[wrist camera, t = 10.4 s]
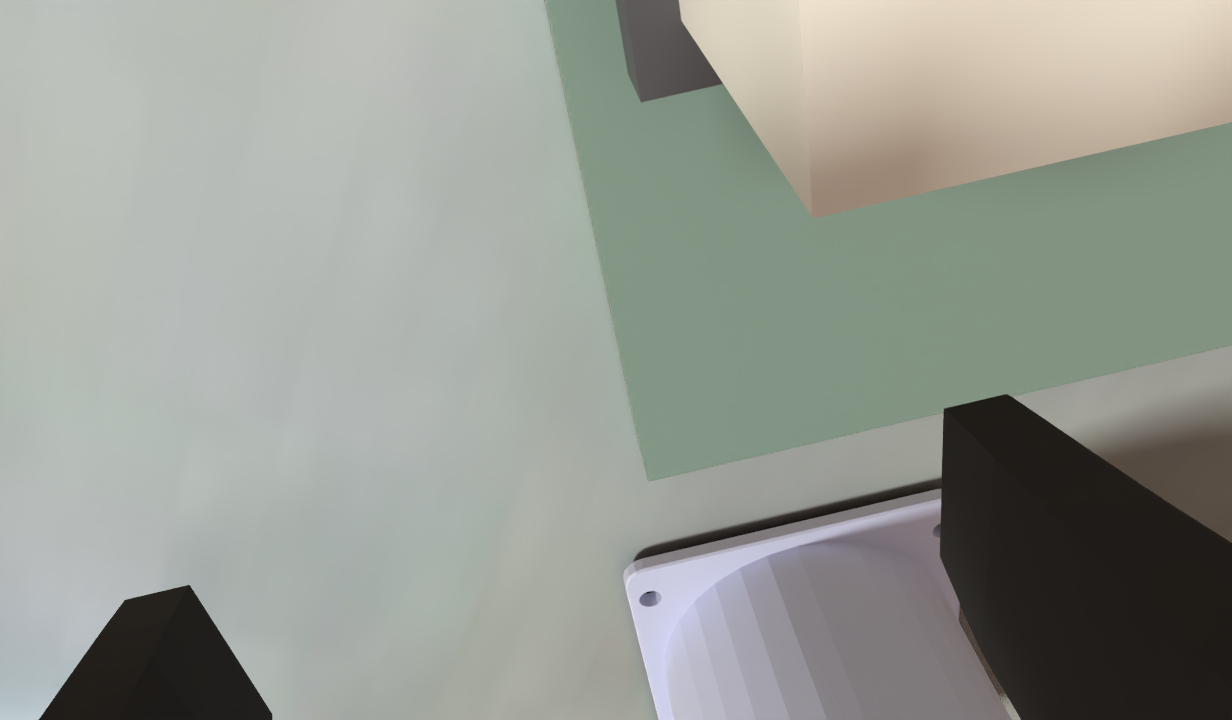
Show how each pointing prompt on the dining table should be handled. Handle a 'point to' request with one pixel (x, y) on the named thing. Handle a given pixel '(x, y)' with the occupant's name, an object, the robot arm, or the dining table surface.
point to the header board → (862, 261)
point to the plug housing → (959, 84)
